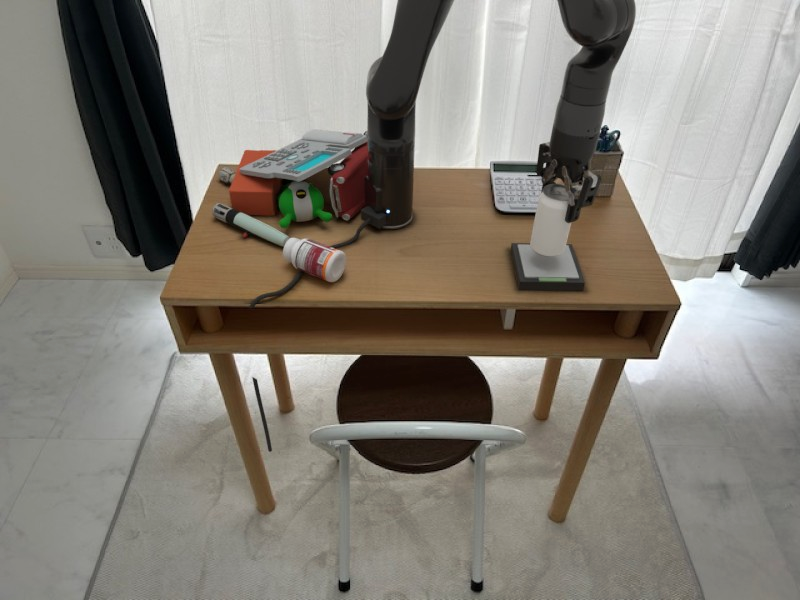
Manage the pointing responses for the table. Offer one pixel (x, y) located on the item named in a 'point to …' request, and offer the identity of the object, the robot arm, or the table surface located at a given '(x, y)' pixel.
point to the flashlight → (249, 224)
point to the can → (551, 222)
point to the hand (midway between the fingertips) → (558, 210)
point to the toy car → (349, 182)
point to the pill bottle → (315, 258)
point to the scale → (546, 269)
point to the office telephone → (306, 155)
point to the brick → (254, 188)
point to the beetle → (227, 175)
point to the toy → (301, 203)
